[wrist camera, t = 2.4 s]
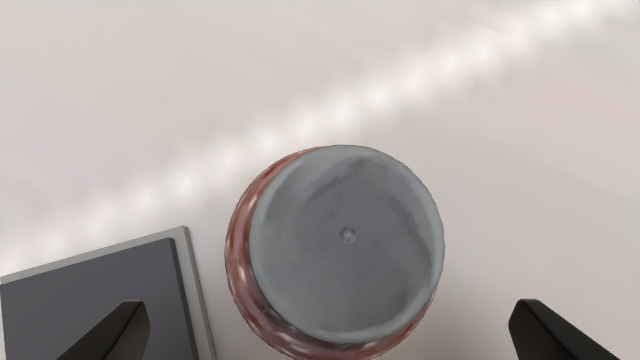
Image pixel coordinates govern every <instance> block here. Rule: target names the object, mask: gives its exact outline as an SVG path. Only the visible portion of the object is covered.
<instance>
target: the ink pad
mask: <svg viewBox="0 0 640 360" xmlns="http://www.w3.org/2000/svg"><path fill="white" fill-rule="evenodd" d="M0 282H1V285H0V298H1V309H2V320H3V331H4V341H5V352H6V360H55V359H56V358H57V357H59V356H60V355H61V354H62V353H63V352H64V351H66V350H67V349H68V348H69V347H70V346H71V345H73V344H74V343H75V342H76V341H77V340H78V339H79V338H81V337H82V336H83V335H84V334H85V333H86V332H88V331H89V330H90V329H91V328H92V327H93V326H95V325H96V324H97V323H98V322H99V321H100V320H102V319H103V318H104V317H105V316H106V315H107V314H108V313H110V312H111V311H112V310H113V309H114V308H115V307H117V306H118V305H119V304H120V303H121V302H123V301H125V300H142V301H143V302H144V303H145V306H146V309H147V313H148V317H149V320H150V334H149V338H148V342H147V346H146V350H145V354H144V358H143V360H216V356H215V351H214V347H213V342H212V337H211V333H210V328H209V324H208V319H207V314H206V310H205V305H204V301H203V296H202V291H201V287H200V282H199V278H198V273H197V268H196V264H195V259H194V255H193V250H192V245H191V241H190V236H189V231H188V228H187V227H185V226H180V227H176V228H173V229H169V230H165V231H162V232H158V233H155V234H151V235H148V236H144V237H141V238H137V239H133V240H130V241H126V242H123V243H119V244H116V245H112V246H109V247H105V248H102V249H98V250H94V251H91V252H87V253H84V254H80V255H77V256H73V257H70V258H66V259H62V260H59V261H55V262H52V263H48V264H45V265H41V266H38V267H34V268H30V269H27V270H23V271H20V272H16V273H13V274H9V275H6V276H2V277H0Z"/></svg>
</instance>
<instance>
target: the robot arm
mask: <svg viewBox="0 0 640 360" xmlns="http://www.w3.org/2000/svg"><path fill="white" fill-rule="evenodd" d="M508 325H509V332H510V335H511V338H512V341H513V344H514V347H515V350H516V353H517V355H518V358H519V360H620V359H619V358H617V357H616V356H614V355H613V354H612V353H610V352H609V351H608V350H606V349H605V348H604V347H602V346H601V345H599V344H598V343H597V342H595V341H594V340H593V339H591V338H590V337H588V336H587V335H586V334H584V333H583V332H582V331H580V330H579V329H577V328H576V327H575V326H573V325H572V324H571V323H569V322H568V321H566V320H565V319H564V318H562V317H561V316H560V315H558V314H557V313H556V312H554V311H553V310H551V309H550V308H549V307H547V306H546V305H545V304H543V303H542V302H540V301H539V300H537V299H520V300H518V301H517V303H516V305H515V308H514V310H513V312H512V315H511V317H510V319H509V324H508ZM149 334H150V320H149V317H148V313H147V309H146V306H145V303H144V302H143V301H142V300H125V301H123V302H121V303H120V304H119V305H118V306H117V307H115V308H114V309H113V310H112V311H111V312H110V313H108V314H107V315H106V316H105V317H104V318H103V319H102V320H100V321H99V322H98V323H97V324H96V325H95V326H93V327H92V328H91V329H90V330H89V331H88V332H86V333H85V334H84V335H83V336H82V337H81V338H79V339H78V340H77V341H76V342H75V343H74V344H73V345H71V346H70V347H69V348H68V349H67V350H66V351H64V352H63V353H62V354H61V355H60V356H59V357H57V358H56V359H55V360H143V358H144V354H145V350H146V346H147V342H148V338H149Z"/></svg>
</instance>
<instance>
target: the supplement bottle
mask: <svg viewBox="0 0 640 360" xmlns="http://www.w3.org/2000/svg"><path fill="white" fill-rule="evenodd" d="M444 253H445V242H444V230H443V224H442V221H441V218H440V215H439V212H438V210H437V207H436V204H435V201H434V200H433V198H432V196H431V194H430V192H429V191H428V189H427V187H426V186H425V185H424V184H423V183H422V181H421V180H420V179H419V178H418V177H417V176H416V175H415V174H414V173H413V172H412V171H411V170H410V169H409V168H408V167H407V166H406V165H404V164H403V163H402V162H400V161H398V160H396V159H394V158H393V157H391V156H389V155H387V154H385V153H383V152H381V151H378V150H375V149H372V148H368V147H363V146H355V145H332V146H324V147H314V148H310V149H306V150H302V151H299V152H296V153H293V154H291V155H288V156H286V157H284V158H282V159H281V160H279V161H277V162H275V163H274V164H272V165H271V166H270V167H268V168H267V169H265V170H264V171H263V172H262V173H261V174H260V175H258V176H257V177H256V178H255V180H254V181H253V182H252V183H251V184H250V185H249V187H248V188H247V189H246V191H245V192H244V194H243V195H242V197H241V198H240V200H239V202H238V204H237V206H236V208H235V210H234V213H233V215H232V217H231V220H230V223H229V228H228V232H227V236H226V243H225V267H226V273H227V279H228V284H229V289H230V291H231V294H232V296H233V298H234V302H235V303H236V305H237V307H238V309H239V311H240V313H241V314H242V316H243V318H244V319H245V320H246V322H247V323H248V325H249V326H250V327H251V330H252V331H253V332H255V333H256V334H257V335H258V336H259V337H260V338H261V339H262V340H264V341H265V342H266V343H267V344H268V345H269V346H271V347H273V348H274V349H276V350H278V351H279V352H280V353H283V354H285V355H287V356H289V357H291V358H293V359H294V360H370V359H372V358H375V357H378V356H380V355H382V354H383V353H385V352H387V351H388V350H390V349H392V348H393V347H395V346H396V345H397V344H399V343H400V342H401V341H402V340H404V339H405V338H406V337H407V336H408V335H409V334H410V333H411V332H412V331H413V329H414V328H415V327H416V326H417V325H418V323H419V322H420V321H421V319H422V318H423V316H424V314H425V312H426V311H427V309H428V307H429V306H430V304H431V303H432V300H433V297H434V294H435V291H436V288H437V285H438V282H439V279H440V276H441V272H442V269H443V261H444Z"/></svg>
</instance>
